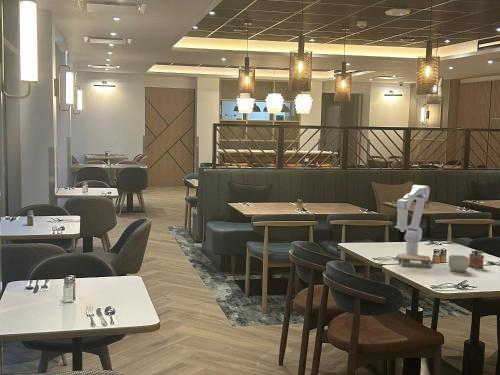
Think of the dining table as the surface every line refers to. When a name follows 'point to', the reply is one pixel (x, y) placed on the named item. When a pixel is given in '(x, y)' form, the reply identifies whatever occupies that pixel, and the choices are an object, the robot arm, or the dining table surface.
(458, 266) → the teacup
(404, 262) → the tray
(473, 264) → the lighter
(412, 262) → the tile
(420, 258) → the board
